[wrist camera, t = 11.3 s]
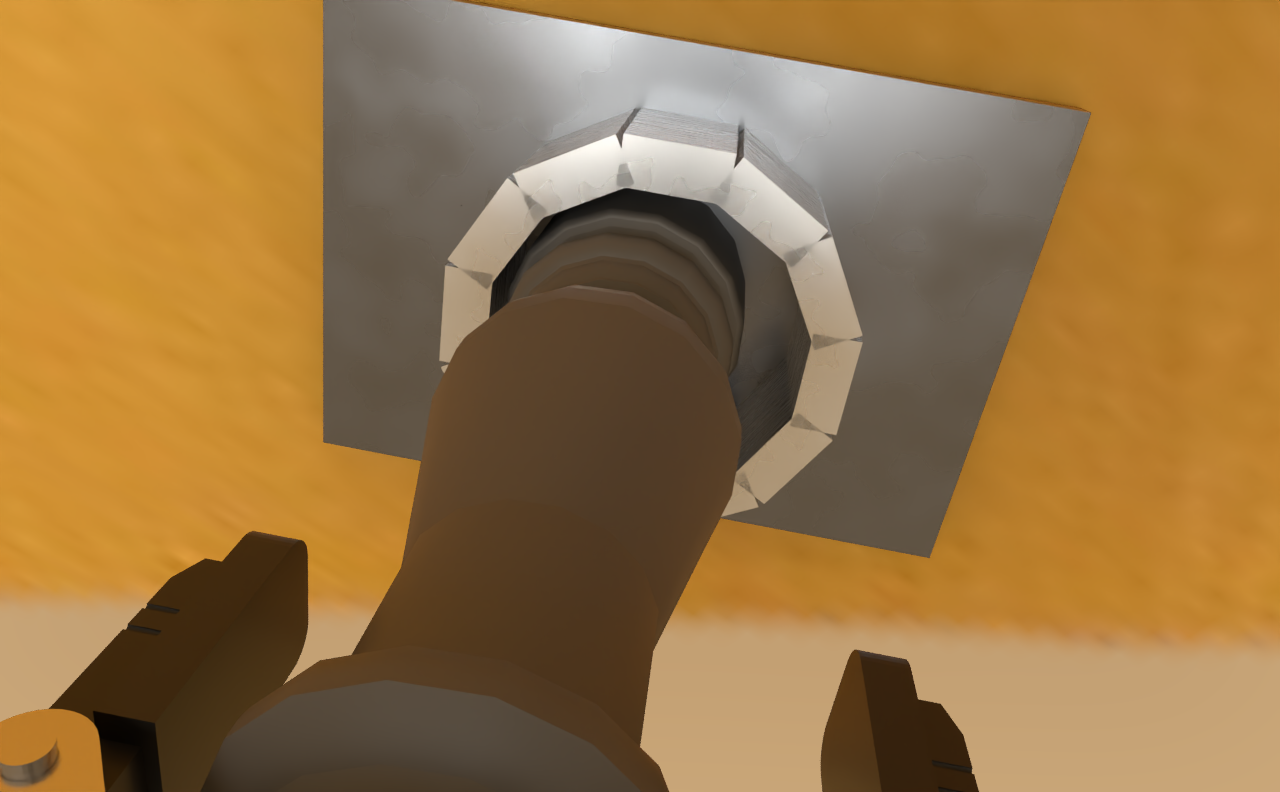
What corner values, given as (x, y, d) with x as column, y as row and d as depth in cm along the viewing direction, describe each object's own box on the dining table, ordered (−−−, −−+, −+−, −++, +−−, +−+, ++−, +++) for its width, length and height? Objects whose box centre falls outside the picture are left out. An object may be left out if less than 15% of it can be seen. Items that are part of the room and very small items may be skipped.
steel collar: (1081, 108, 24) (1154, 141, 20) (925, 543, 30) (954, 641, 26) (335, -23, 24) (247, -19, 20) (333, 430, 31) (265, 508, 26)
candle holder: (650, 420, 28) (277, 2182, 6) (490, 294, 27) (-751, 1919, 5) (791, 277, 26) (1061, 2355, 3) (622, 131, 25) (-661, 1903, 2)
